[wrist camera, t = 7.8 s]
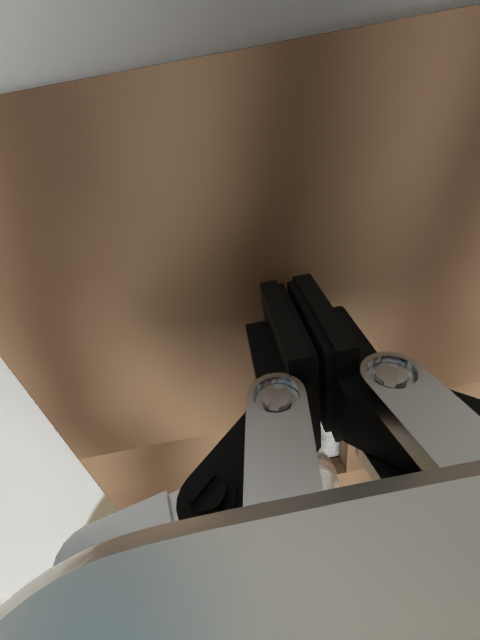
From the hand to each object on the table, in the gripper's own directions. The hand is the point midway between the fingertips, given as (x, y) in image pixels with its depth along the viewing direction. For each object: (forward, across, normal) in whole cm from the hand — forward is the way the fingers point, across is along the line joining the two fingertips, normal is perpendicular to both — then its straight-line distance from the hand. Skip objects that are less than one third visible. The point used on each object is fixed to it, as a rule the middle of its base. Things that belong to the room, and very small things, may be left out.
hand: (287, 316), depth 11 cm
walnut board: (+2, 0, +4) cm, 4 cm away
